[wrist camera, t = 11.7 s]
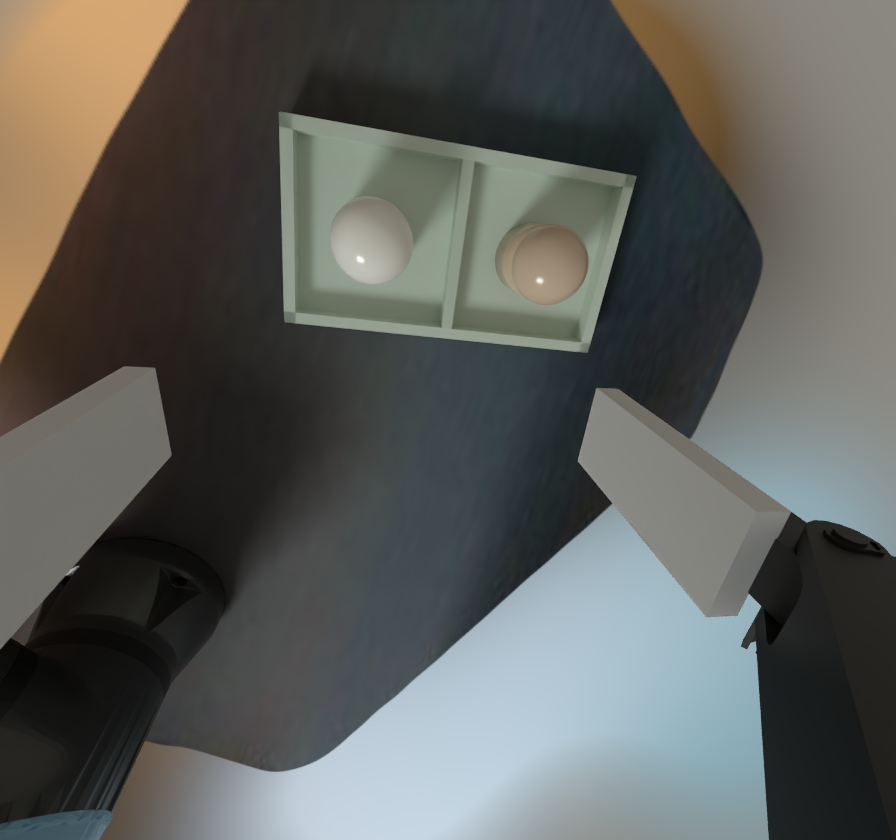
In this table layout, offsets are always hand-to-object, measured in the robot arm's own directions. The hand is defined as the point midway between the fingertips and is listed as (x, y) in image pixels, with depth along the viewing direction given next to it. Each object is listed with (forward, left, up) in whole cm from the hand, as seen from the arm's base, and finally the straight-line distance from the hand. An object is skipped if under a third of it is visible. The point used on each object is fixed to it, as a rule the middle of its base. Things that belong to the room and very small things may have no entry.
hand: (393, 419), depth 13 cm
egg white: (-1, +4, -23) cm, 23 cm away
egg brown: (+10, +4, -23) cm, 25 cm away
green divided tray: (+5, +4, -24) cm, 24 cm away
